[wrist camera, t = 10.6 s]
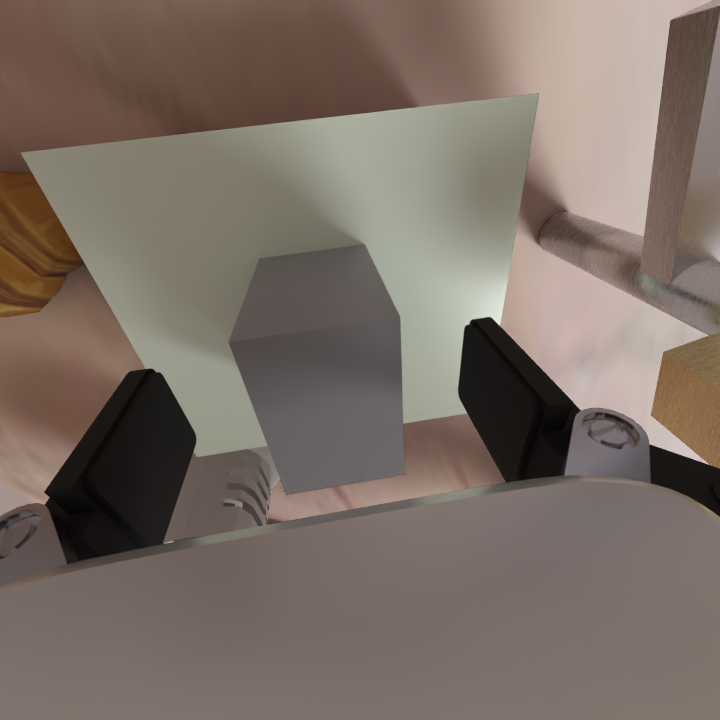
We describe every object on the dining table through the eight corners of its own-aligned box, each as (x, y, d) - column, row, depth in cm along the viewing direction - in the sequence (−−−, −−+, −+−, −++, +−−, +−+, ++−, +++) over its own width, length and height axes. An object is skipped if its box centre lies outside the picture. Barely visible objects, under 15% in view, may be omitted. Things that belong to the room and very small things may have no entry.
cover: (515, 96, 12) (732, 64, 6) (474, 393, 20) (548, 509, 14) (52, 150, 11) (-258, 176, 5) (204, 436, 19) (155, 579, 13)
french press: (269, 419, 27) (153, 1292, 7) (298, 501, 34) (284, 1063, 14) (145, 440, 27) (-370, 1436, 6) (200, 518, 34) (33, 1126, 13)
